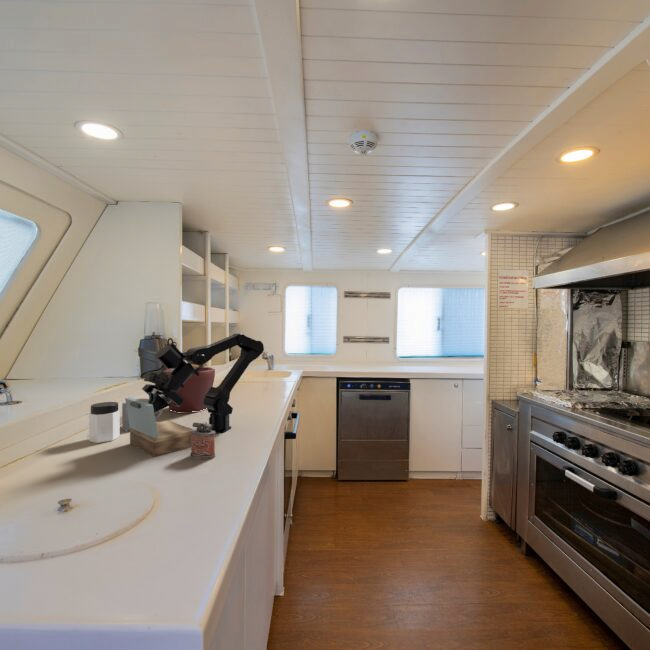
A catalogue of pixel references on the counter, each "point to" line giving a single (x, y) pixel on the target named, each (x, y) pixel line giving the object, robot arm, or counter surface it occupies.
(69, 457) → the counter surface
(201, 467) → the counter surface
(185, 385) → the bucket
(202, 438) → the lighter
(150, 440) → the cart bed
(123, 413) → the grey mug
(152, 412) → the grey flat slab
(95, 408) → the jar
